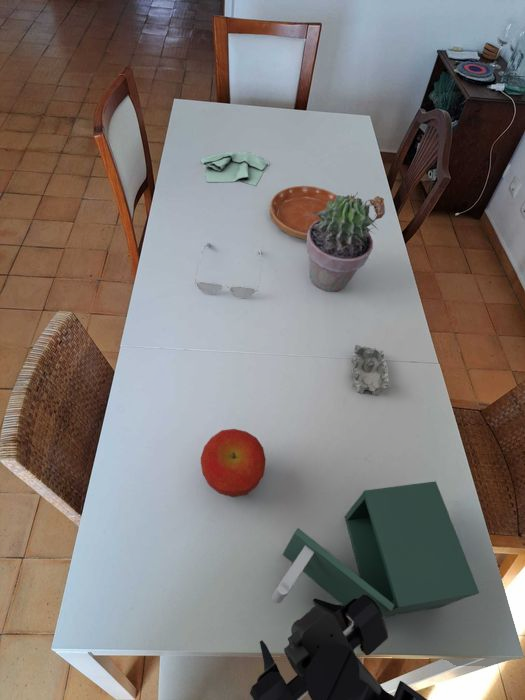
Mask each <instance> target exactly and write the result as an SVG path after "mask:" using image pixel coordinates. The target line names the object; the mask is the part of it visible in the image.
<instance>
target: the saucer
mask: <svg viewBox="0 0 525 700" xmlns="http://www.w3.org/2000/svg"><path fill="white" fill-rule="evenodd" d="M337 196H338V194H336V193H333V192H331V191H329V190H327V189H324V188H320V187H317V186H309V185H298V186H297V185H296V186H291V187H287V188H284V189H281V190H280V191H279V192H277V193H276V194H274V196H273V197H272V198H271V201H270V204H269V216H270V218H271V221H272V222H273V223H274V224H275V225H276V227H277V228H278V229H280V230H281V231H282V232H284V233H286V234H287V235H290V236H292V237H295V238H298V239H302V240H306V241H307V234H308V230H306V229H309V228H310V226H311V225H312V224H313V223H314V222H316V221H318V220H320V219H321V218H320V217H319V216H318V214H314V213H319V212H321V211H323V210H325V209H326V208H327V203H328V201H333V202H334V201H335V199H336V197H337ZM307 214H310V215H307ZM316 217H318V218H316ZM299 229H300V230H299ZM304 230H306V231H304Z"/></svg>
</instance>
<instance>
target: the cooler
mask: <svg viewBox="0 0 525 700" xmlns="http://www.w3.org/2000/svg"><path fill="white" fill-rule="evenodd" d="M344 520H345V524H346V528H347V532H348V535H349V540H350V544H351V548H352V551H353V556H354V559H355V563H356V566H357V570H358V574H359V575H358V576H359V577H360V578H361V579H363V580H364V581H365V582H366V583H368V584H369V585H370V586H371V587H373V588H374V589H375V590H377V591H378V592H379V593H380V594H382V595H383V596H384V597H385V598H387V599H388V600H389V601H390V602H392V603H393V604H394V605H395V606H394V608H393V610H392V611H391V612H389V613H387V614H385V615H382V616H383V618H387V617H394V616H399V615H404V614H405V615H406V614H410V613H416V612H420V611H427V610H432V609H438V608H442V607H445V606H447V605H451V604H453V603H456V602H459V601H462V600H464V599H466V598H470V597H472V596H475V595H478V594H480V590H479V588H478V586H477V583H476V580H475V577H474V575H473V572H472V570H471V567H470V565H469V563H468V560H467V558H466V555H465V553H464V550H463V547H462V544H461V541H460V540H459V539H460V538H459V536H458V534H457V531H456V530H455V526H454V524H453V522H452V518H451V517H450V514H449V511H448V509H447V506H446V504H445V501H444V498H443V496H442V493H441V491H440V488H439V486H438V483H437V481H436V480H435V481H428V482H421V483H414V484H413V483H411V484H404V485H396V486H387V487H380V488H373V489H365V490H364V491H363V492H362V493H361V494H360V496H359V497H358V498H357V500H356V501H355V502H354V504H353V505H352V506H351V507H350V508H349V510H348V511H347V512H346V513H345V515H344Z"/></svg>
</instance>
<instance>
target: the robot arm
mask: <svg viewBox="0 0 525 700" xmlns="http://www.w3.org/2000/svg"><path fill="white" fill-rule="evenodd" d="M312 603H313V605H314V606H313V607H312V608H311V609H310V610H309V611H308V612H307V613H305V614H304V615H303V616H302V617H300V618H298V619H297V620H295V621H294V622H293V624H292V626H291V629H290V631H291V633H290V634H291V635H290V636H289V637H288V638H287V641H288V644H287V646H286V647H284V648H283V652H284V654H285V656H286V658H287V660H288V662H289V664H290V667H291V668H292V670H293V671H294V673H295V674H296V675H295V676H294V677H293V678H292V679H291V680H289V681H288V682H286V681H285V679H284V677H283V676H282V674H281V672H280V670H279V667H278V665H277V663H276V662H275V659H274V658H273V655H272V654H271V651H270V650H269V648H268V646H267V644H266V643H265V642H264V641H263V640H262V639H261V640H260V641H259V645H260V650H261V655H262V660H263V669H264V670H263V672H262V673H261V674H260V675H258V677H257V678H256V679H257V680H256V682H255V683H254V684H253V685H252V686H251V688H250V691H249V694H250V697H251V699H252V700H303V699H304V698H305V697H306V696H307V695H308V696H309V698H310V699H311V700H428V699H427V698H425V697H424V696H423V695H422V694H420V693H419V692H418V691H417V690H415V689H414V688H412V687H411V686H410V685H408V684H407V683H405V682H404V681H402V680H399V682H398V684H397V687H396V689H395V692H394V695H393V694H391V693H389V692H388V691H387V690H385V689H384V688H383V686H382V685H381V684H380V683H379V681H378V680H377V679H376V678H375V677H374V676H373V674H372V673H371V672H370V671H369V670H368V669H367V667H366V666H365V665H364V663H362V661H361V660H360V659H359V657H358V656H357V655H356V653H355V651H354V650H355V649H356V648H357V647H359V648H360V651H361V652H362V653H363V654H364V655H365V656H366V657H367V656H370V655H371V654H373V652H375V650H377V649H378V648H379V647H380V646H381V645H382V644H383V643H384V642H385V641H387V640H388V639H389V631H388V628H387V625H386V622H385V620H384V617H383V616H382V613H381V610H380V608H379V606H378V605H377V603H376V602H375V601H374V600H373V599H371V598H370V597H369V596H368V595H362V596H361V597H359V598H358V599H356V598H354V599H352V600H351V601H350V602H348V603H347V604H346V605H343V604H336V603H332V602H329V601H325V600H322V599H319V598H313V599H312Z"/></svg>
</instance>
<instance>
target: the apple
mask: <svg viewBox="0 0 525 700" xmlns="http://www.w3.org/2000/svg"><path fill="white" fill-rule="evenodd" d="M266 460H267V458H266V455H265V450H264V447H263V446H262V444H261V442H260V441H259V440H258V437H256V436H254V435H252V434H251V433H249V432H247V431H246V430H241V429H238V428H230V429H222V430H220V431H218V432H217V433H216V434H214V435H213V436H211V437H210V439H209V440H208V441H207V442H206V444H205V445H204V446H203V449H202V452H201V455H200V466H201V471H202V476H203V477H204V480H205V481H206V483H207V485H208V486H209V487H210V488H211V489H213V490H214V491H215V492H216V493H218V494H219V495H224V496H227V497H231V498H237V497H241V496H246V495H248V494H249V493H251V492H252V491H253V490H255V489H256V488H257V487H258V485H259V484H260V482H261V481H262V479H263V478H264V476H265V470H266Z"/></svg>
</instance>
